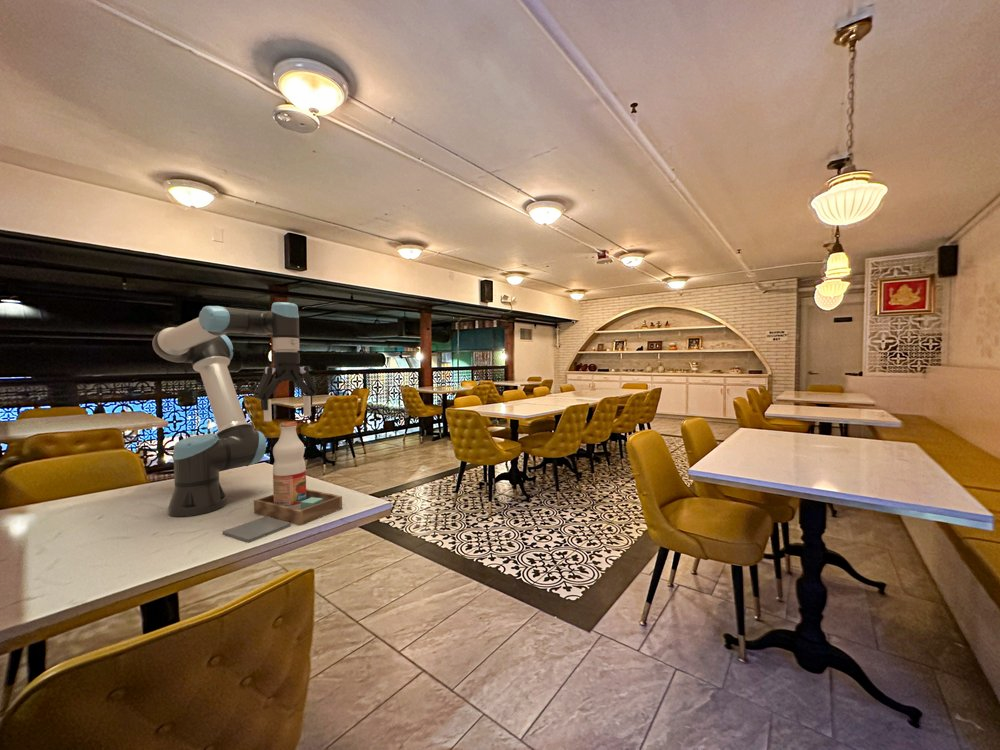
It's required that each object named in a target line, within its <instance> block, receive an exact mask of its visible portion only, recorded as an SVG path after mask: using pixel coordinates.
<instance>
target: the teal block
mask: <svg viewBox="0 0 1000 750" xmlns="http://www.w3.org/2000/svg"><path fill="white" fill-rule="evenodd" d="M321 502H323V498H315V497H311V498H309V499H306V500H304V501H302V502H301V510H302V509H305V508H307V507H310V506H313V505H316V504H318V503H321Z"/></svg>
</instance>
